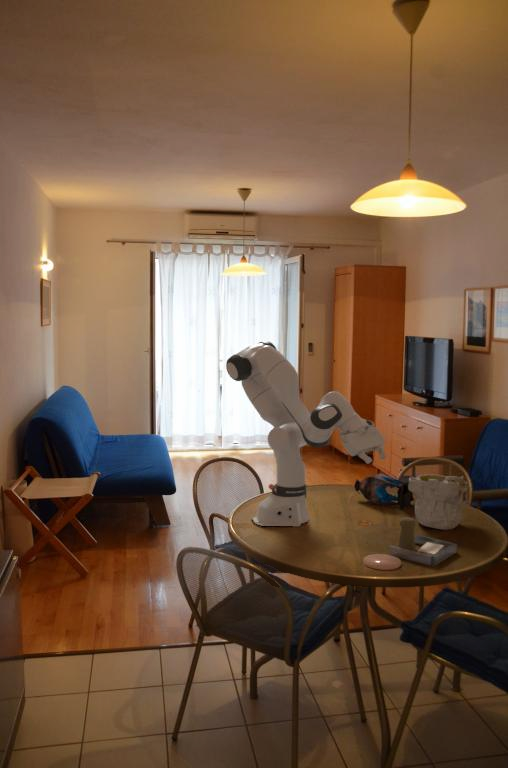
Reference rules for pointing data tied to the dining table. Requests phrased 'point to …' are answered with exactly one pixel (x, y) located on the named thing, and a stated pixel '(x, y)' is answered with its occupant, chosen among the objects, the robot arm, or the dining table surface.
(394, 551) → the grey u-shaped frame
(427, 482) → the ceramic vessel
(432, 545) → the offcut stack
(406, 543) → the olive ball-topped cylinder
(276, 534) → the dining table surface
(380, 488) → the lantern
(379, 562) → the pink round disc
